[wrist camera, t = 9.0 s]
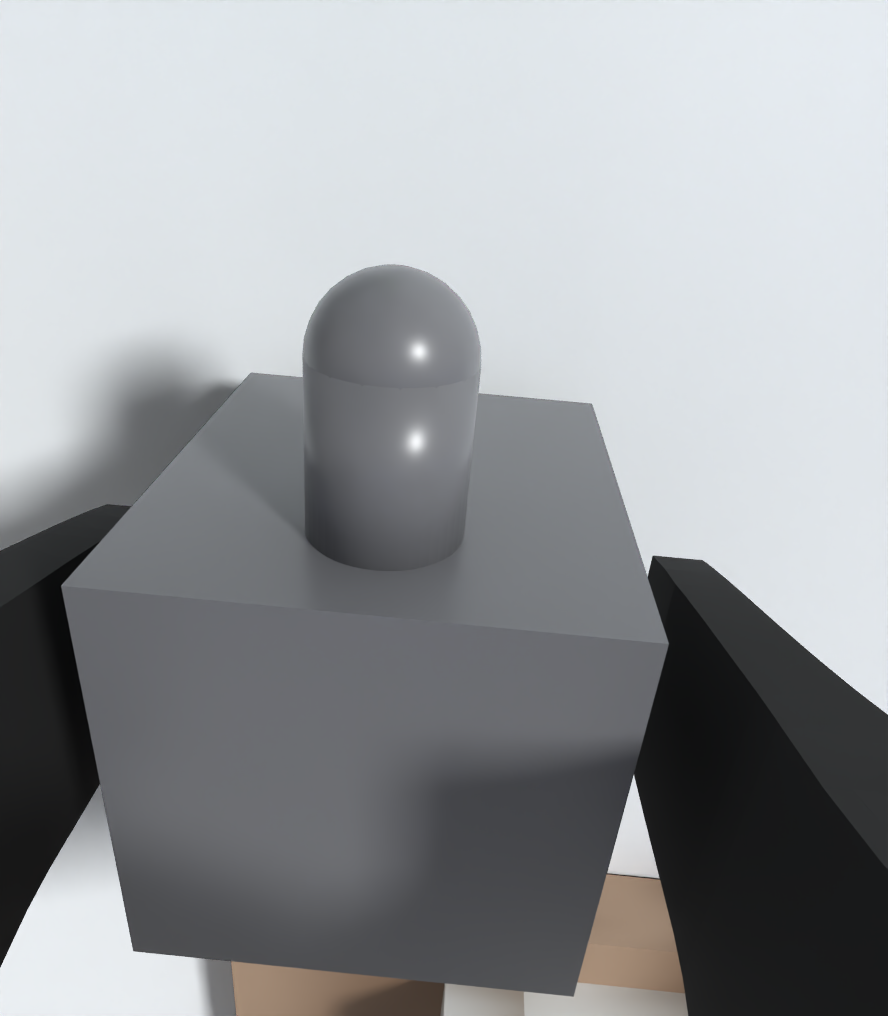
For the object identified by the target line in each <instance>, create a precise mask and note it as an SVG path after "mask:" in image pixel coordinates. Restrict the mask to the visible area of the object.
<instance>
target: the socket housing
mask: <svg viewBox="0 0 888 1016" xmlns="http://www.w3.org/2000/svg"><path fill="white" fill-rule="evenodd" d="M231 966H232V976H233V986H234V996H235V1006H236V1016H688V1010H687V1004H686V997H685V990H684V984H683V977H682V972H681V967H680V963H679V958H678V953H677V948H676V943H675V938H674V933H673V929H672V925H671V921H670V917H669V913H668V909H667V905H666V901H665V897H664V893H663V889H662V885H661V881H660V880H659V879H649V878H639V877H629V876H619V875H609V874H607V875H606V879H605V882H604V886H603V890H602V893H601V897H600V901H599V904H598V908H597V912H596V916H595V919H594V923H593V927H592V930H591V934H590V938H589V941H588V945H587V949H586V953H585V956H584V960H583V964H582V967H581V971H580V975H579V978H578V982H577V986H576V990H575V993H574V997H572V996H562V995H552V994H543V993H533V992H523V991H514V990H504V989H494V988H485V987H475V986H465V985H456V984H446V983H436V982H427V981H417V980H407V979H398V978H388V977H378V976H369V975H359V974H349V973H340V972H330V971H320V970H311V969H301V968H291V967H282V966H272V965H262V964H253V963H243V962H233V961H231Z"/></svg>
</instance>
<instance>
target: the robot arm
mask: <svg viewBox="0 0 888 1016" xmlns="http://www.w3.org/2000/svg"><path fill="white" fill-rule="evenodd" d="M130 508H131V507H129V506H119V505H105V506H102V507H99V508H96V509H93V510H90V511H88V512H85V513H83V514H80V515H78V516H76V517H73V518H71V519H69V520H66V521H64V522H62V523H60V524H57V525H55V526H53V527H51V528H49V529H46V530H44V531H42V532H40V533H38V534H36V535H34V536H31V537H29V538H27V539H25V540H23V541H21V542H19V543H16V544H14V545H12V546H10V547H8V548H6V549H3V550H1V551H0V967H1V965H2V963H3V960H4V958H5V956H6V954H7V952H8V950H9V948H10V946H11V943H12V941H13V939H14V937H15V935H16V933H17V931H18V928H19V926H20V924H21V922H22V920H23V918H24V916H25V914H26V911H27V909H28V908H29V906H30V904H31V902H32V900H33V898H34V896H35V895H36V893H37V891H38V889H39V887H40V885H41V883H42V882H43V880H44V878H45V876H46V874H47V872H48V870H49V869H50V867H51V865H52V864H53V862H54V860H55V859H56V857H57V855H58V853H59V852H60V850H61V848H62V847H63V845H64V843H65V842H66V840H67V838H68V837H69V835H70V833H71V832H72V830H73V828H74V827H75V825H76V823H77V821H78V820H79V818H80V816H81V815H82V813H83V811H84V810H85V808H86V806H87V805H88V803H89V801H90V800H91V798H92V796H93V794H94V793H95V791H96V789H97V788H98V786H99V784H100V780H99V775H98V770H97V765H96V760H95V755H94V750H93V745H92V740H91V735H90V729H89V724H88V719H87V714H86V709H85V704H84V699H83V694H82V689H81V684H80V679H79V674H78V669H77V664H76V659H75V654H74V649H73V644H72V638H71V633H70V628H69V623H68V618H67V613H66V608H65V603H64V598H63V593H62V588H61V585H62V584H63V583H64V582H65V581H66V580H67V579H68V577H69V576H70V575H71V574H72V573H73V572H74V571H75V570H76V568H77V567H78V566H79V565H80V564H81V563H82V562H83V561H84V559H85V558H86V557H87V556H88V555H89V554H90V553H91V552H92V550H93V549H94V548H95V547H96V546H97V545H98V544H99V543H100V542H101V540H102V539H103V538H104V537H105V536H106V535H107V534H108V533H109V531H110V530H111V529H112V528H113V527H114V526H115V525H116V524H117V522H118V521H119V520H120V519H121V518H122V517H123V516H124V515H125V513H126V512H127V511H128V510H129V509H130ZM648 580H649V583H650V587H651V590H652V593H653V596H654V599H655V602H656V605H657V608H658V612H659V615H660V618H661V621H662V624H663V627H664V630H665V633H666V637H667V640H668V643H669V645H668V649H667V653H666V657H665V660H664V664H663V668H662V671H661V675H660V679H659V682H658V686H657V690H656V694H655V697H654V701H653V705H652V708H651V712H650V716H649V719H648V723H647V727H646V731H645V734H644V738H643V742H642V745H641V749H640V753H639V756H638V760H637V764H636V768H635V771H634V776H635V780H636V784H637V788H638V793H639V797H640V801H641V805H642V809H643V813H644V817H645V821H646V825H647V829H648V833H649V837H650V841H651V845H652V849H653V853H654V857H655V861H656V865H657V869H658V873H659V877H660V881H661V885H662V889H663V893H664V897H665V901H666V905H667V909H668V913H669V917H670V921H671V925H672V929H673V933H674V938H675V943H676V948H677V953H678V958H679V963H680V967H681V972H682V977H683V984H684V990H685V997H686V1004H687V1010H688V1016H888V715H887V714H886V713H885V712H883V711H882V710H881V709H879V708H878V707H877V706H876V705H874V704H873V703H872V702H870V701H869V700H868V699H866V698H865V697H864V696H863V695H861V694H860V693H859V692H857V691H856V690H855V689H854V688H852V687H851V686H850V685H849V684H847V683H846V682H845V681H844V680H843V679H841V678H840V677H839V676H838V675H836V674H835V673H834V672H833V671H832V670H830V669H829V668H828V667H827V666H826V665H824V664H823V663H822V662H821V661H820V660H818V659H817V658H816V657H815V656H814V655H812V654H811V653H810V652H809V651H808V650H807V649H805V648H804V647H803V646H802V645H801V644H800V643H798V642H797V641H796V640H795V639H794V638H793V637H791V636H790V635H789V634H788V633H787V632H786V631H785V630H783V629H782V628H781V627H780V626H779V625H778V624H777V623H775V622H774V621H773V620H772V619H771V618H770V617H769V616H768V615H766V614H765V613H764V612H763V611H762V610H761V609H760V608H759V607H757V606H756V605H755V604H754V603H753V602H752V601H751V600H750V599H748V598H747V597H746V596H745V595H744V594H743V593H742V592H741V591H739V590H738V589H737V588H736V587H735V586H734V585H732V584H731V583H730V582H729V581H728V580H727V579H726V578H724V577H723V576H722V575H721V574H720V573H718V572H717V571H716V570H715V569H714V568H712V567H711V566H710V565H708V564H707V563H706V562H704V561H703V560H693V559H683V558H672V557H662V556H653V557H652V561H651V566H650V570H649V574H648Z"/></svg>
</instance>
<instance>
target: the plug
mask: <svg viewBox="0 0 888 1016" xmlns="http://www.w3.org/2000/svg"><path fill="white" fill-rule="evenodd" d="M480 371H481V346H480V341H479V336H478V331H477V328H476V325H475V323H474V320H473V318H472V316H471V313H470V311H469V310H468V308H467V307H466V305H465V304H464V303H463V301H462V300H461V298H460V297H459V296H458V295H457V294H456V293H455V292H454V291H453V290H452V289H451V288H450V287H449V286H448V285H447V284H445V283H444V282H443V281H441V280H439V279H438V278H436V277H434V276H433V275H431V274H429V273H428V272H425V271H422V270H419V269H415V268H412V267H409V266H404V265H380V266H375V267H369V268H365V269H362V270H360V271H358V272H355V273H353V274H351V275H349V276H347V277H345V278H344V279H343V280H341V281H340V282H339V283H337V284H336V285H335V286H333V287H332V288H331V289H330V290H329V291H328V292H327V293H326V294H325V296H324V297H323V298H322V299H321V300H320V301H319V303H318V305H317V307H316V308H315V310H314V312H313V314H312V316H311V318H310V320H309V323H308V326H307V330H306V333H305V336H304V344H303V377H292V376H281V375H270V374H259V373H250V374H249V375H248V376H247V378H246V379H245V380H244V381H243V382H242V383H241V384H240V385H239V387H238V388H237V389H236V390H235V391H234V392H233V393H232V394H231V396H230V397H229V398H228V399H227V400H226V401H225V402H224V403H223V405H222V406H221V407H220V408H219V409H218V410H217V411H216V412H215V414H214V415H213V416H212V417H211V418H210V419H209V420H208V421H207V422H206V424H205V425H204V426H203V427H202V428H201V429H200V430H199V431H198V433H197V434H196V435H195V436H194V437H193V438H192V439H191V440H190V442H189V443H188V444H187V445H186V446H185V447H184V448H183V449H182V451H181V452H180V453H179V454H178V455H177V456H176V457H175V458H174V460H173V461H172V462H171V463H170V464H169V465H168V466H167V467H166V469H165V470H164V471H163V472H162V473H161V474H160V475H159V476H158V478H157V479H156V480H155V481H154V482H153V483H152V484H151V485H150V486H149V488H148V489H147V490H146V491H145V492H144V493H143V494H142V495H141V497H140V498H139V499H138V500H137V501H136V502H135V503H134V504H133V506H132V507H131V508H130V509H129V510H128V511H127V512H126V513H125V515H124V516H123V517H122V518H121V519H120V520H119V521H118V522H117V524H116V525H115V526H114V527H113V528H112V529H111V530H110V531H109V533H108V534H107V535H106V536H105V537H104V538H103V539H102V540H101V542H100V543H99V544H98V545H97V546H96V547H95V548H94V549H93V550H92V552H91V553H90V554H89V555H88V556H87V557H86V558H85V559H84V561H83V562H82V563H81V564H80V565H79V566H78V567H77V568H76V570H75V571H74V572H73V573H72V574H71V575H70V576H69V577H68V579H67V580H66V581H65V582H64V583H63V584H62V585H61V588H62V593H63V598H64V603H65V608H66V613H67V618H68V623H69V628H70V633H71V638H72V644H73V649H74V654H75V659H76V664H77V669H78V674H79V679H80V684H81V689H82V694H83V699H84V704H85V709H86V714H87V719H88V724H89V729H90V735H91V740H92V745H93V750H94V755H95V760H96V765H97V770H98V775H99V780H100V785H101V790H102V795H103V800H104V805H105V810H106V815H107V820H108V826H109V831H110V836H111V841H112V846H113V851H114V856H115V861H116V866H117V871H118V876H119V881H120V886H121V891H122V896H123V901H124V906H125V911H126V916H127V922H128V927H129V932H130V937H131V942H132V947H133V951H137V952H146V953H156V954H166V955H175V956H185V957H195V958H204V959H214V960H224V961H233V962H243V963H253V964H262V965H272V966H282V967H291V968H301V969H311V970H320V971H330V972H340V973H349V974H359V975H369V976H378V977H388V978H398V979H407V980H417V981H427V982H436V983H446V984H456V985H465V986H475V987H485V988H494V989H504V990H514V991H523V992H533V993H543V994H552V995H562V996H572V997H574V993H575V990H576V986H577V982H578V978H579V975H580V971H581V967H582V964H583V960H584V956H585V953H586V949H587V945H588V941H589V938H590V934H591V930H592V927H593V923H594V919H595V916H596V912H597V908H598V904H599V901H600V897H601V893H602V890H603V886H604V882H605V879H606V875H607V871H608V867H609V864H610V860H611V856H612V853H613V849H614V845H615V842H616V838H617V834H618V830H619V827H620V823H621V819H622V816H623V812H624V808H625V805H626V801H627V797H628V793H629V790H630V786H631V782H632V779H633V775H634V771H635V768H636V764H637V760H638V756H639V753H640V749H641V745H642V742H643V738H644V734H645V731H646V727H647V723H648V719H649V716H650V712H651V708H652V705H653V701H654V697H655V694H656V690H657V686H658V682H659V679H660V675H661V671H662V668H663V664H664V660H665V657H666V653H667V649H668V645H669V643H668V640H667V637H666V633H665V630H664V627H663V624H662V621H661V618H660V615H659V612H658V608H657V605H656V602H655V599H654V596H653V593H652V590H651V587H650V583H649V580H648V577H647V574H646V571H645V568H644V565H643V562H642V558H641V555H640V552H639V549H638V546H637V543H636V540H635V537H634V533H633V530H632V527H631V524H630V521H629V518H628V515H627V512H626V508H625V505H624V502H623V499H622V496H621V493H620V490H619V487H618V483H617V480H616V477H615V474H614V471H613V468H612V465H611V462H610V459H609V455H608V452H607V449H606V446H605V443H604V440H603V437H602V434H601V430H600V427H599V424H598V421H597V418H596V415H595V412H594V409H593V405H592V404H589V403H578V402H567V401H556V400H545V399H534V398H523V397H512V396H501V395H490V394H479V393H478V391H479V381H480Z"/></svg>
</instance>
